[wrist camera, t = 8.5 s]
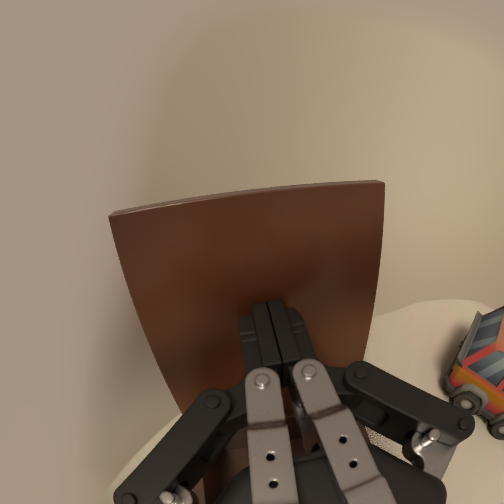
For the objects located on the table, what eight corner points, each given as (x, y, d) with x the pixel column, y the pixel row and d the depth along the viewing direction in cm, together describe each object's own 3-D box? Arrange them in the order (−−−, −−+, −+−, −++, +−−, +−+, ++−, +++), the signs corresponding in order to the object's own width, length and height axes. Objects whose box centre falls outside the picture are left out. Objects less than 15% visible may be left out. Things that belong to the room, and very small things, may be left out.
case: (370, 541, 10) (405, 546, 6) (226, 570, 9) (207, 589, 5) (334, 424, 22) (351, 392, 18) (209, 446, 21) (188, 420, 17)
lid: (385, 182, 11) (376, 179, 12) (107, 215, 10) (113, 211, 11) (354, 393, 17) (350, 386, 18) (186, 422, 16) (187, 414, 17)
